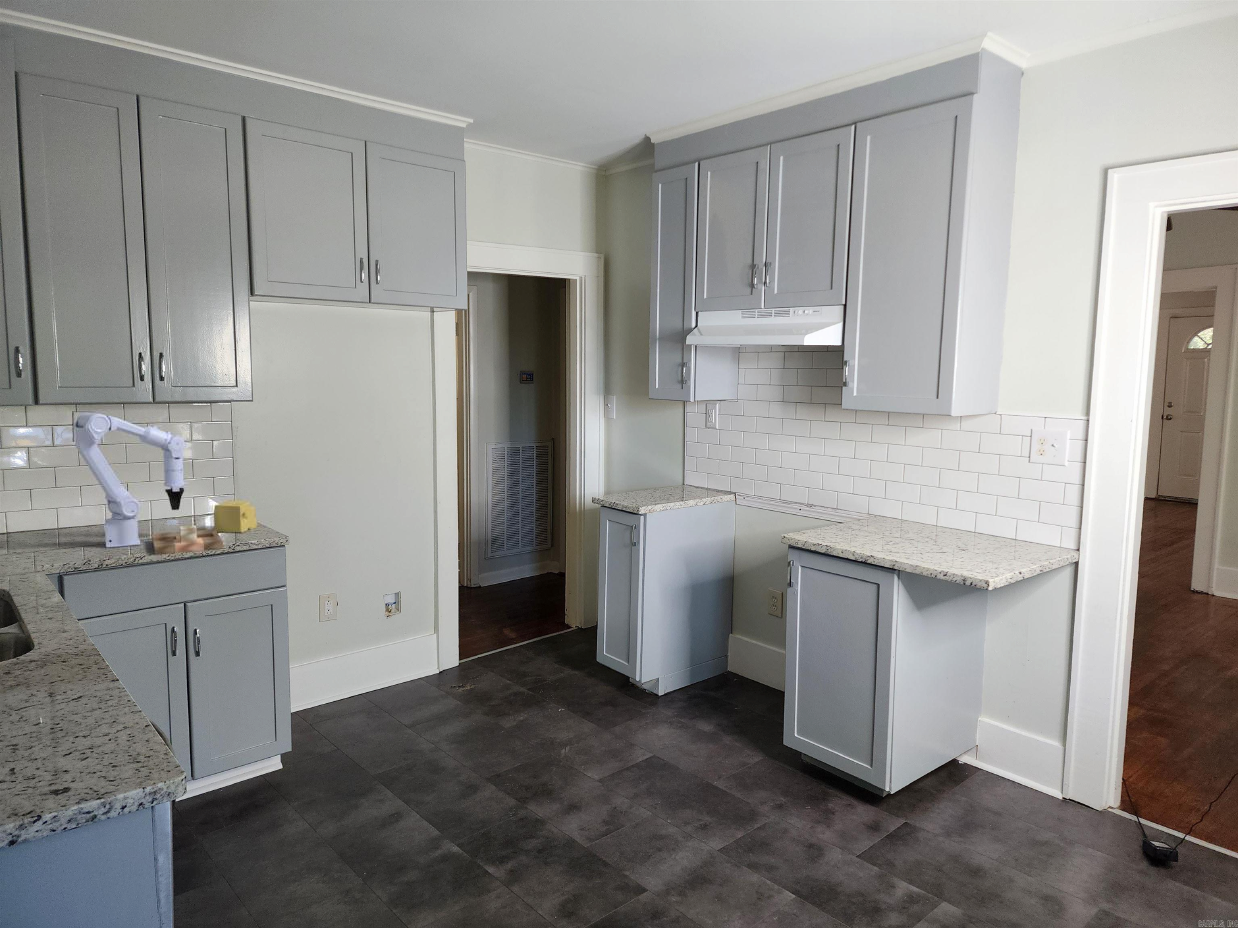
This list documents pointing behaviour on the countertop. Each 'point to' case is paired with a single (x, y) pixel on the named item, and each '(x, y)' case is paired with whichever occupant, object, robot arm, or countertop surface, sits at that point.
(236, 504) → the cheese
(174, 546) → the trap deck
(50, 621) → the countertop surface
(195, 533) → the block
